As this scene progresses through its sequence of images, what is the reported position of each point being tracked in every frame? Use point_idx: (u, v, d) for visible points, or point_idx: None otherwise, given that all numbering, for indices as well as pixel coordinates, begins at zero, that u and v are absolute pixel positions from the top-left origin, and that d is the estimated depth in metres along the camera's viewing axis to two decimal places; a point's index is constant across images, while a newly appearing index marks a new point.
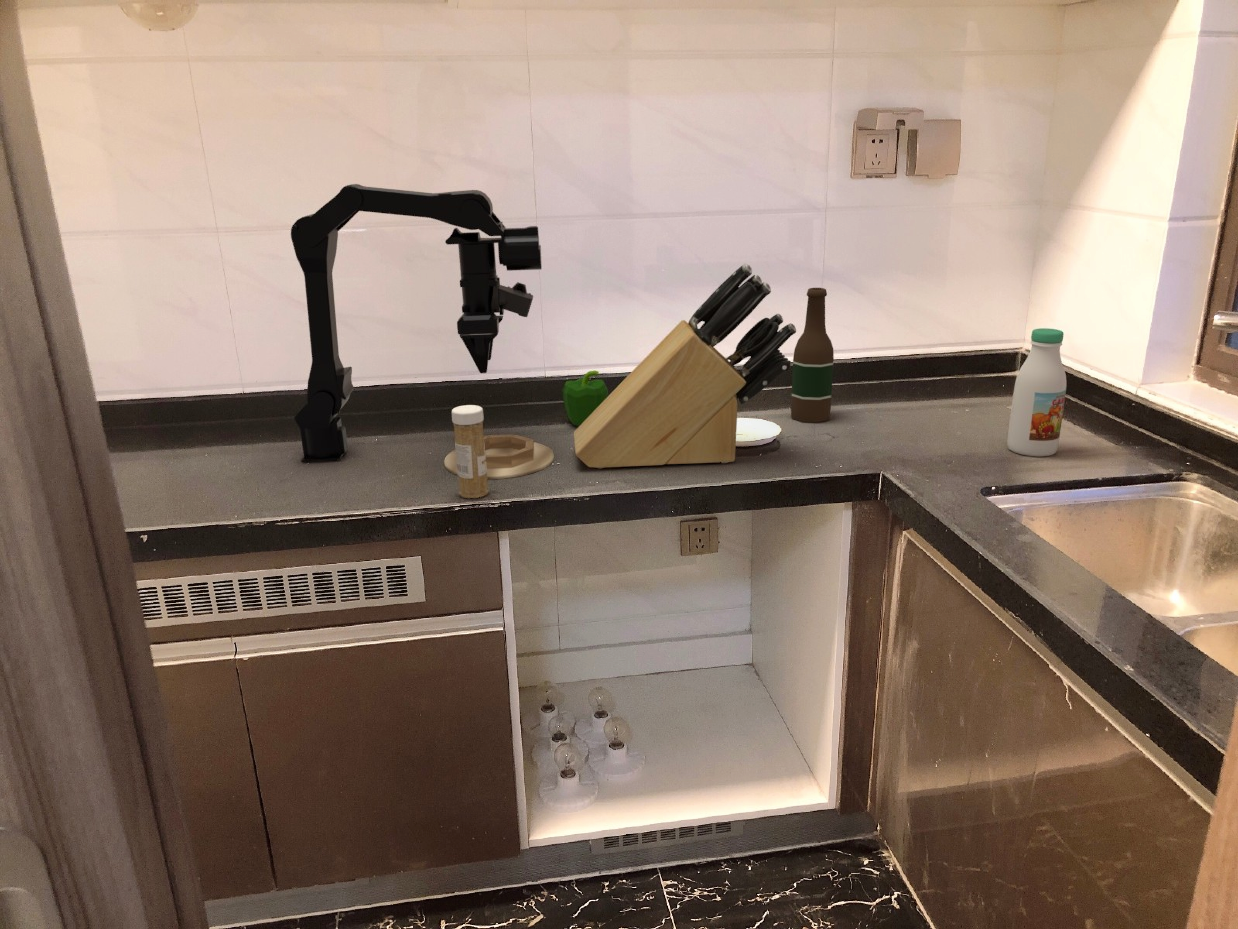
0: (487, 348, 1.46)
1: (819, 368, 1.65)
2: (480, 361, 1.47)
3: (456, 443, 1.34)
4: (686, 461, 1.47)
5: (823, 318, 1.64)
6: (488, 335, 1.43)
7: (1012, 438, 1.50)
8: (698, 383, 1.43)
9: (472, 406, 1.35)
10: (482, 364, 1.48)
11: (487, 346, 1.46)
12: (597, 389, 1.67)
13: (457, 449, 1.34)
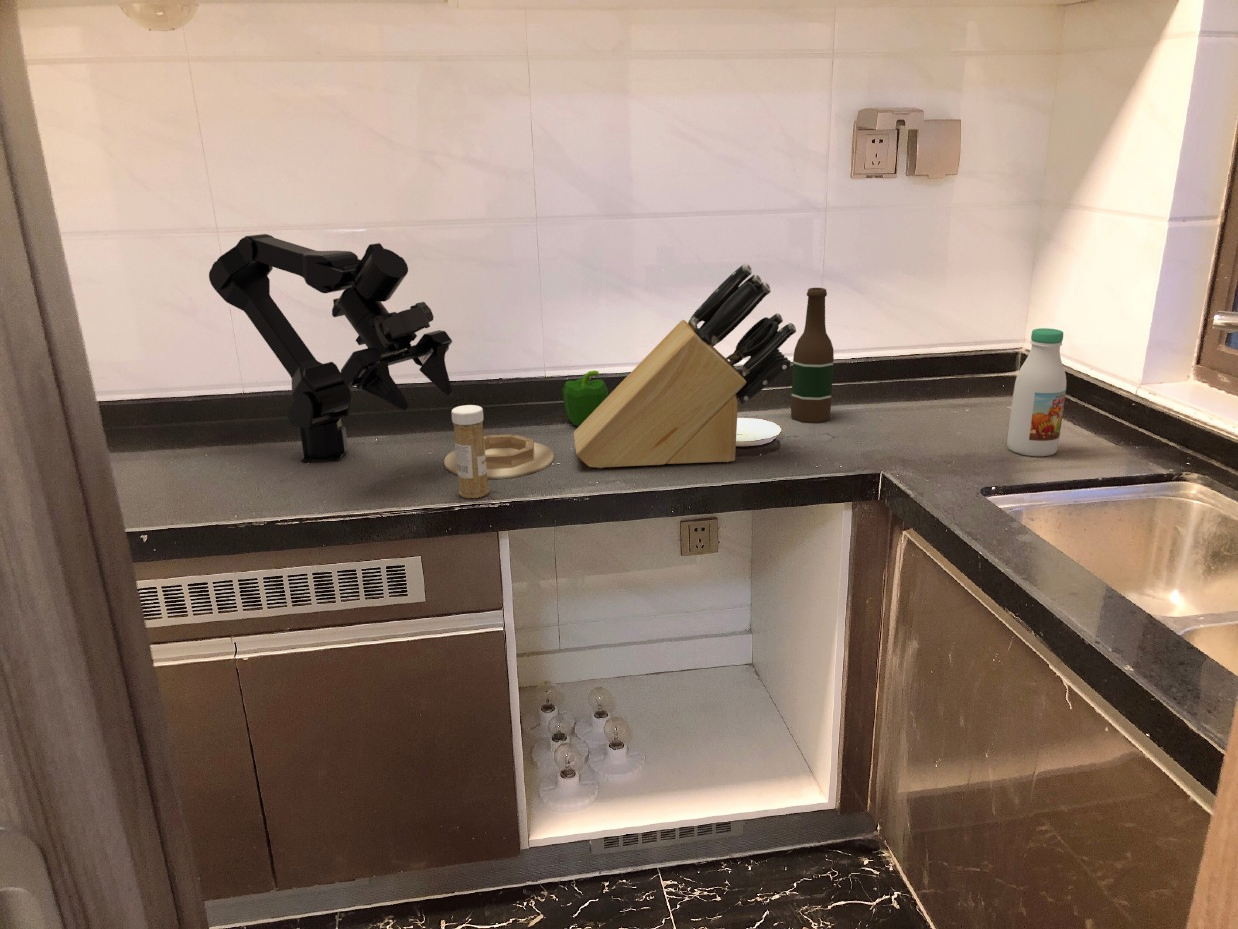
0: (386, 383, 1.33)
1: (819, 368, 1.65)
2: (394, 399, 1.34)
3: (456, 443, 1.34)
4: (686, 461, 1.48)
5: (823, 318, 1.64)
6: (368, 371, 1.32)
7: (1012, 438, 1.50)
8: (698, 382, 1.43)
9: (472, 406, 1.35)
10: (398, 401, 1.34)
11: (384, 381, 1.33)
12: (597, 389, 1.67)
13: (457, 449, 1.34)
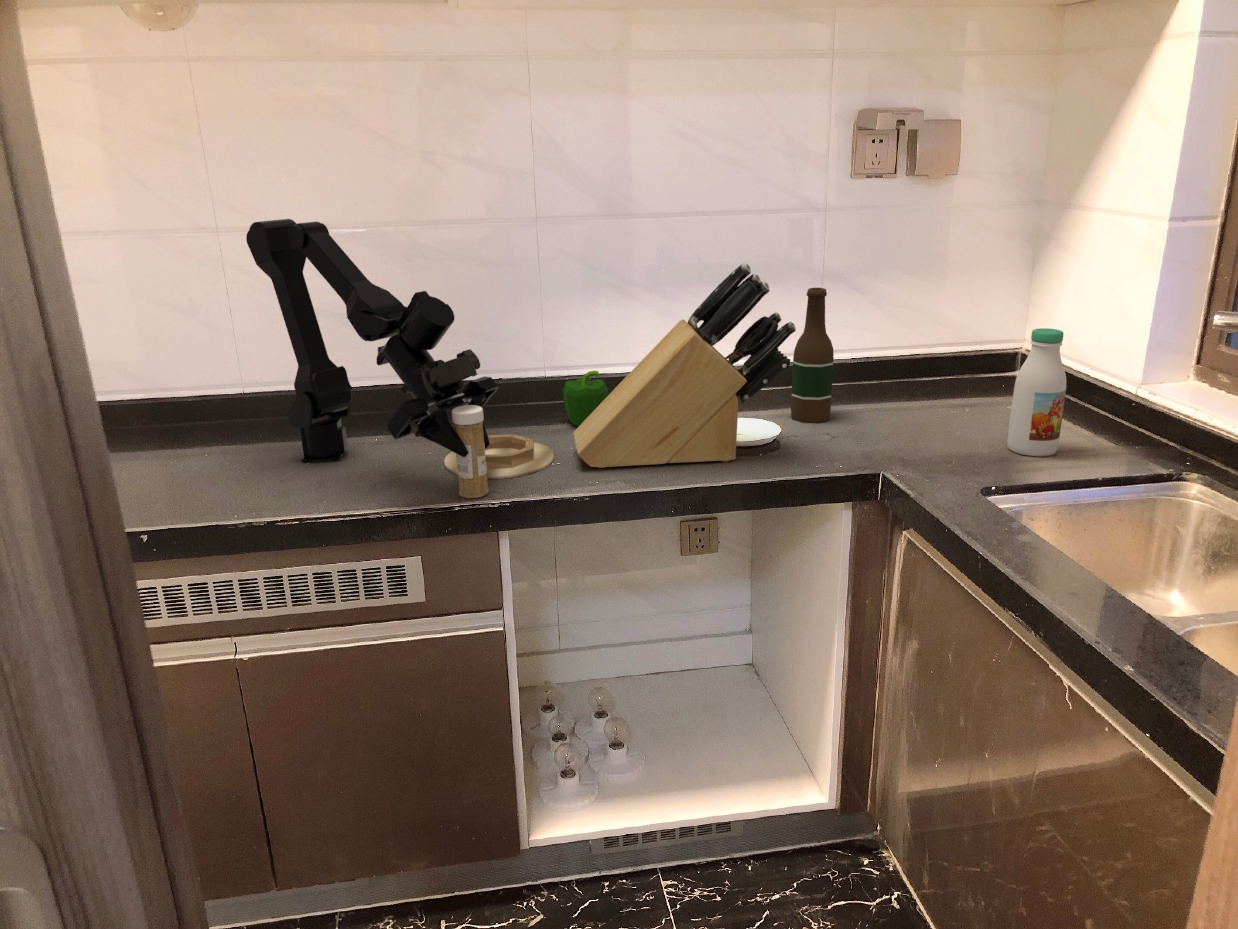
0: (445, 430, 1.32)
1: (819, 368, 1.65)
2: (453, 446, 1.33)
3: None
4: (687, 460, 1.48)
5: (823, 318, 1.64)
6: (427, 418, 1.31)
7: (1012, 438, 1.50)
8: (699, 381, 1.43)
9: (472, 406, 1.35)
10: (457, 448, 1.33)
11: (443, 428, 1.32)
12: (597, 389, 1.67)
13: None
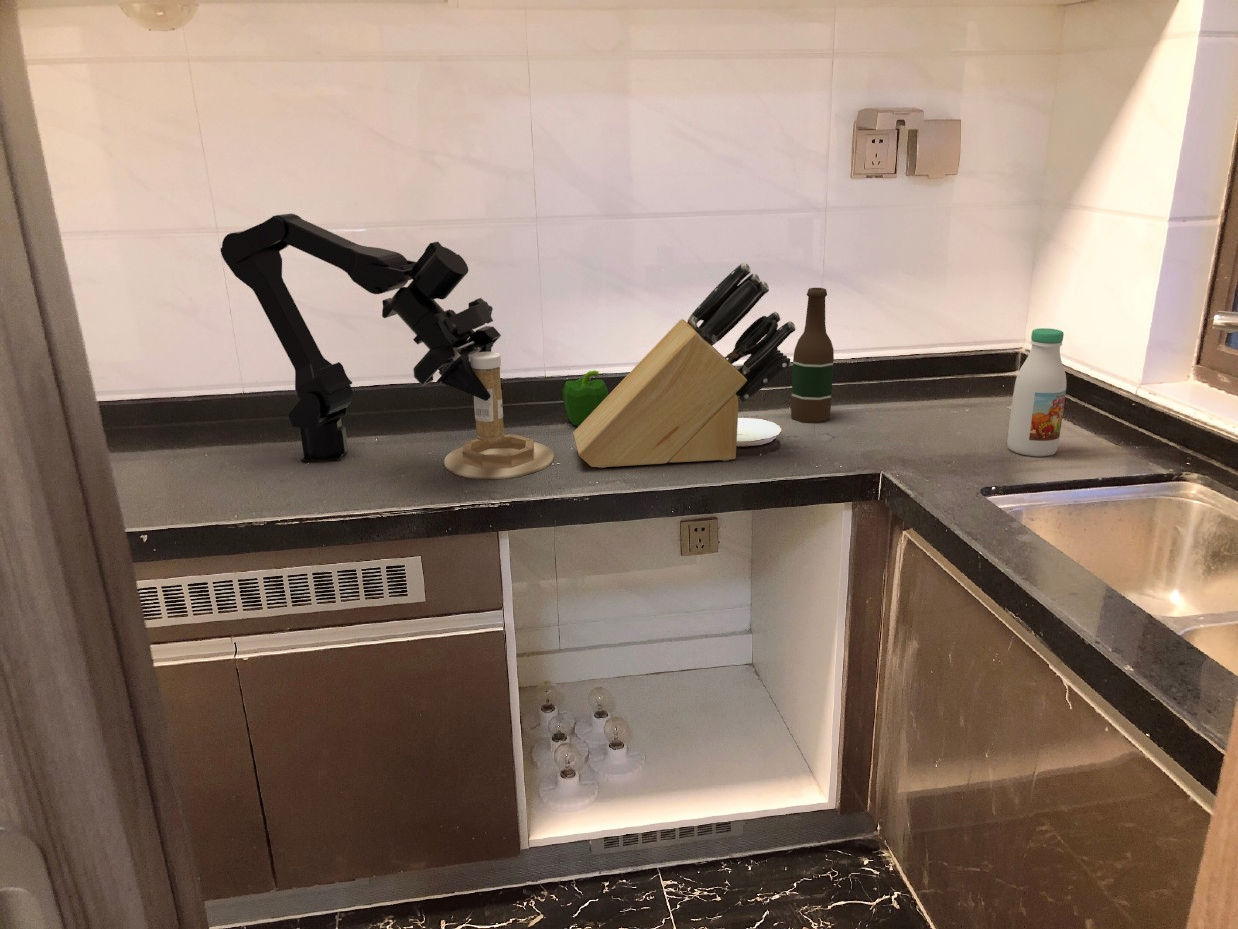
0: (468, 375, 1.37)
1: (819, 368, 1.65)
2: (475, 390, 1.39)
3: None
4: (688, 459, 1.48)
5: (823, 318, 1.64)
6: (453, 364, 1.35)
7: (1012, 438, 1.50)
8: (700, 381, 1.44)
9: (488, 352, 1.41)
10: (479, 392, 1.39)
11: (467, 373, 1.37)
12: (597, 389, 1.67)
13: None
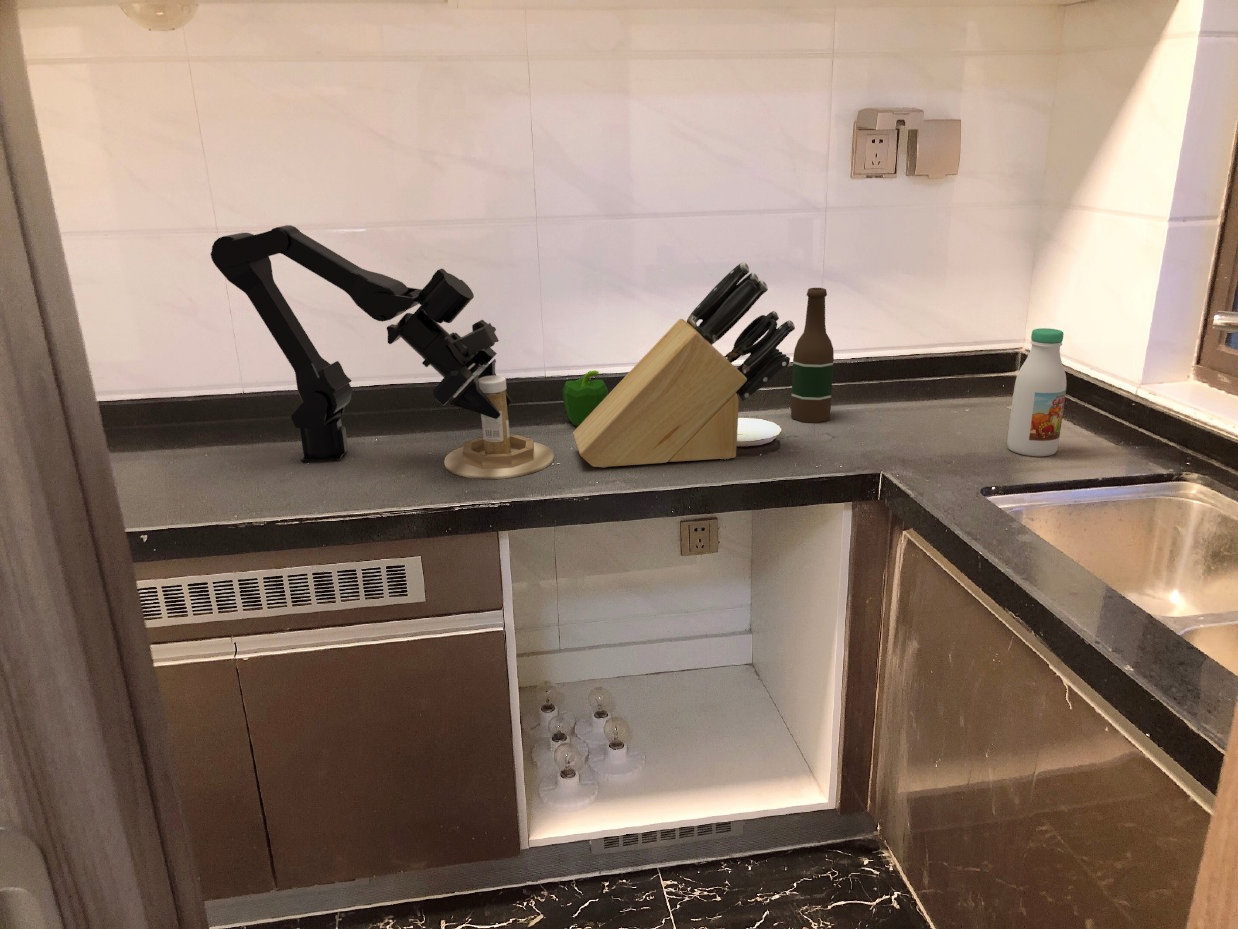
0: (480, 396, 1.43)
1: (819, 368, 1.65)
2: (486, 410, 1.45)
3: None
4: (689, 458, 1.49)
5: (823, 318, 1.64)
6: (467, 386, 1.41)
7: (1012, 438, 1.50)
8: (700, 380, 1.44)
9: (492, 376, 1.49)
10: (490, 411, 1.45)
11: (478, 394, 1.43)
12: (597, 389, 1.67)
13: (487, 416, 1.48)
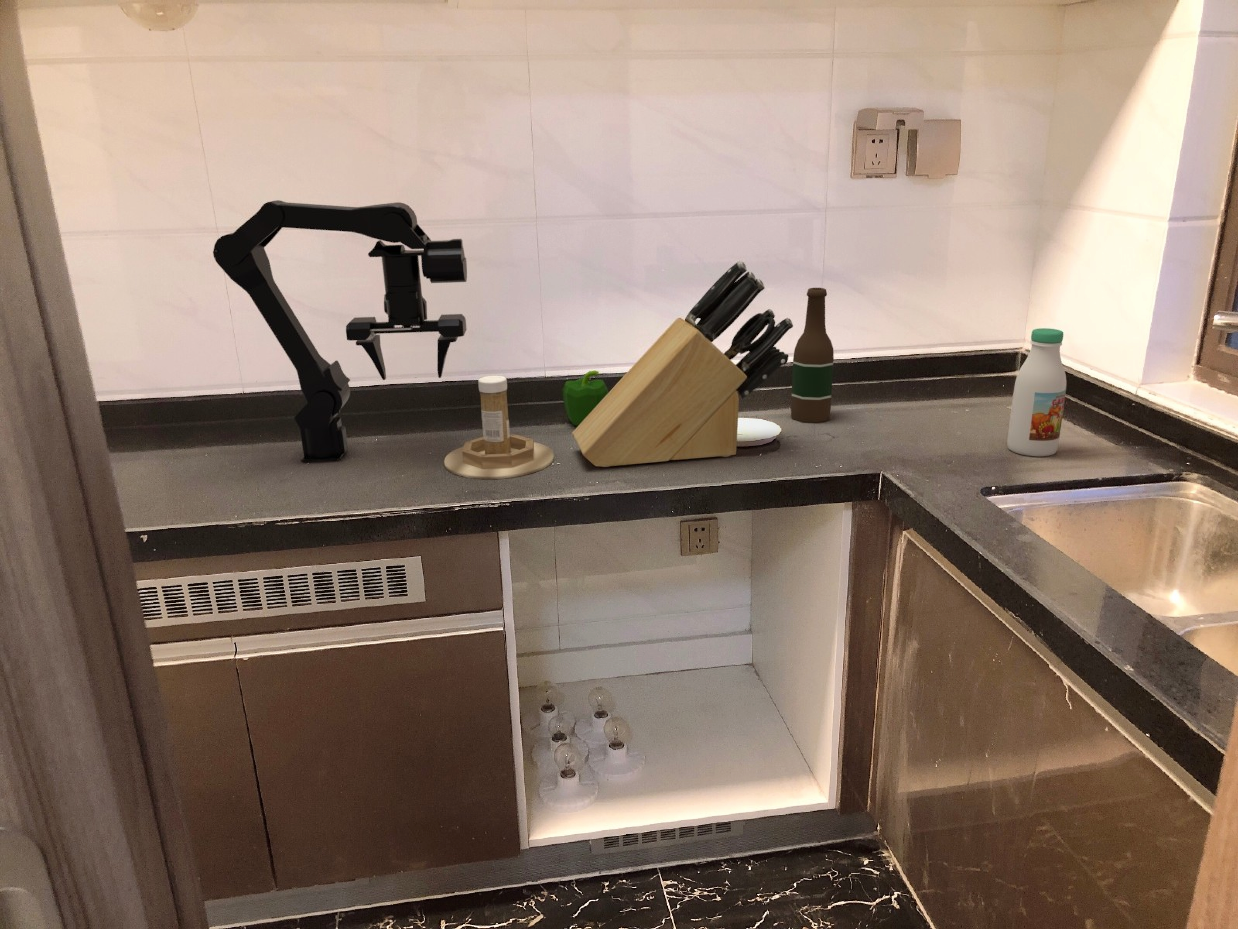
0: (447, 350, 1.53)
1: (819, 368, 1.65)
2: (443, 365, 1.52)
3: (486, 411, 1.48)
4: (690, 456, 1.50)
5: (823, 318, 1.64)
6: None
7: (1012, 438, 1.50)
8: (701, 378, 1.45)
9: (493, 376, 1.49)
10: None
11: (448, 347, 1.53)
12: (597, 389, 1.67)
13: (488, 416, 1.48)
